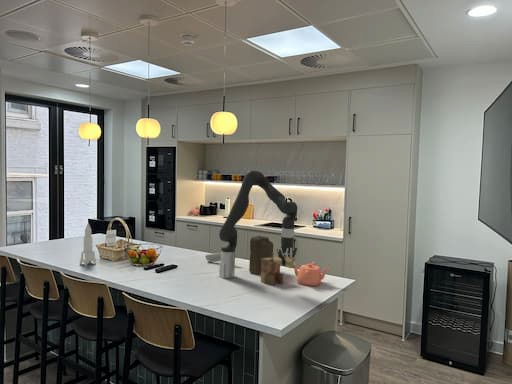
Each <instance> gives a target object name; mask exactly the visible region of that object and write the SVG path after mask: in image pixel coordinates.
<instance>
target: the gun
mask: <svg viewBox="0 0 512 384" xmlns="http://www.w3.org/2000/svg"><path fill="white" fill-rule="evenodd" d="M204 256H205V259H206V261H207V263H215V262H221V252H215V253H210V254H209V253H208V254H205V255H204ZM236 258H237V257H236V255H235V259H236Z"/></svg>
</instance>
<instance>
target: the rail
mask: <svg viewBox="0 0 512 384" xmlns="http://www.w3.org/2000/svg"><path fill="white" fill-rule="evenodd" d="M296 261H297V259H296V258H295V257H293V258H291V257H288V255H287V256H286V258H285V266H284V267H287V268H289V269H294V268H295V265H296ZM273 262H276V263H278V264H280V266H283V265H282V259H281V258H279V256H278V252H273Z"/></svg>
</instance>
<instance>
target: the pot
mask: <svg viewBox="0 0 512 384" xmlns="http://www.w3.org/2000/svg"><path fill="white" fill-rule="evenodd" d="M293 269H294V274H295V277H297V278H296V280H297V284H298V285H304V286H312V287H318V286H319V285H320V284H321V281H322V280H324V279H325V277H326V272H327V271H328V270H329V269H330V267H325V268H324V269H323V270H321V267H320V266H318V265H315V261H312V262H311V263H307V264H302V265H301V266H300V267H299V269H298V267H297V265H296V264H295V268H293ZM321 271H322V272H321Z"/></svg>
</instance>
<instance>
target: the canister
mask: <svg viewBox="0 0 512 384" xmlns="http://www.w3.org/2000/svg"><path fill="white" fill-rule="evenodd" d="M249 251H250V254H249V264H248V265H249V270H248V271H249V273H251V274H255V275H261V260H260V259H261V258H269V257H273V253H274V243H273V242H272V241H271V240H270V238H269V237H268V236H266V237H265V236H261V235H255V236H251V238H250V242H249Z"/></svg>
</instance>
